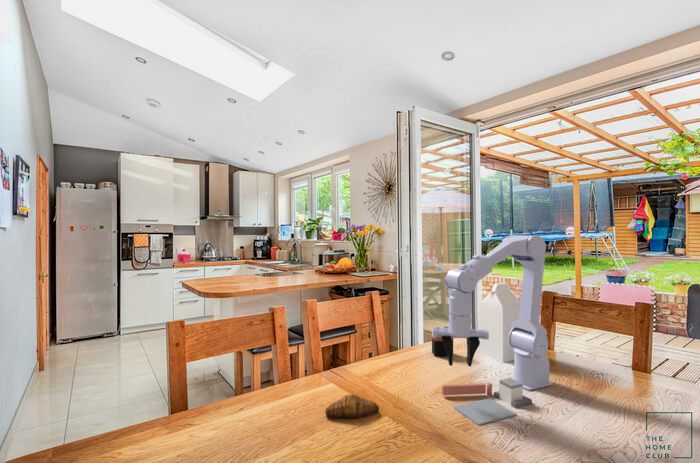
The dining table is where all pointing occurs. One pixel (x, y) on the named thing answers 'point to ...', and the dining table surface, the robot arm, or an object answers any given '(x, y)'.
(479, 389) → the pink flat bar
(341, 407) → the croissant
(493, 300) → the milk
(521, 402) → the bracket
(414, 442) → the dining table surface
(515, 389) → the plug
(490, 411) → the slate mat
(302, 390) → the dining table surface
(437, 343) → the battery
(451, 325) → the robot arm
